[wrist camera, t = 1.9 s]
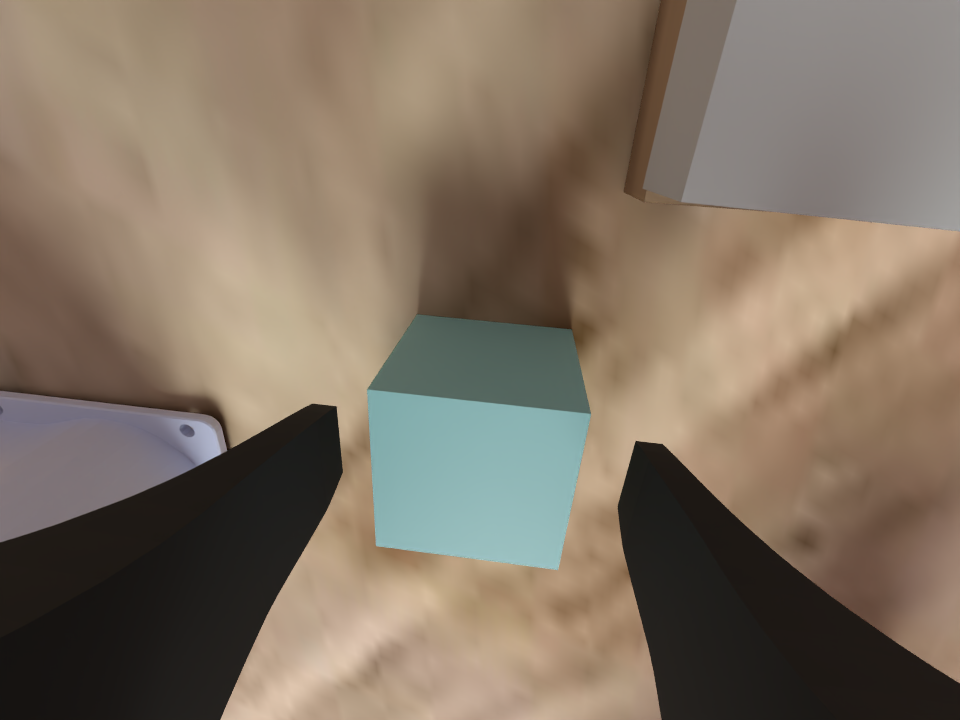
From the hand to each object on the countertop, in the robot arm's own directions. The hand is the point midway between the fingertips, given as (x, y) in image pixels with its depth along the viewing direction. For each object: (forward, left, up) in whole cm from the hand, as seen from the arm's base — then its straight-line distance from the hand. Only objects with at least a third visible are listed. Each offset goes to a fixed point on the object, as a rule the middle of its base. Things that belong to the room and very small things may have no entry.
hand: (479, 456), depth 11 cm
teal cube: (0, 0, -4) cm, 4 cm away
